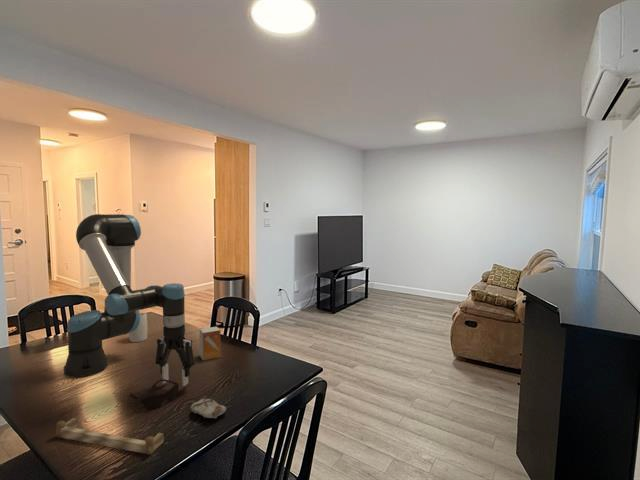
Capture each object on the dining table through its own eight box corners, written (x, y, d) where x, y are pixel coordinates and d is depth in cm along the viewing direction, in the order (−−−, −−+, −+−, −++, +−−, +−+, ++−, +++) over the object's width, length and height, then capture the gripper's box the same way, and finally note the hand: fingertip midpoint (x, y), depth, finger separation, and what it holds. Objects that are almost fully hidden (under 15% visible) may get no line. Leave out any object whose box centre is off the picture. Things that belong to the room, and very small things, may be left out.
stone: (184, 412, 113) (184, 402, 113) (207, 402, 120) (207, 392, 120) (208, 424, 106) (208, 414, 106) (230, 412, 114) (231, 402, 114)
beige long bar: (55, 437, 101) (54, 424, 100) (73, 425, 106) (72, 413, 106) (150, 455, 93) (150, 441, 93) (164, 441, 99) (164, 428, 99)
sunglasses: (147, 414, 113) (146, 400, 113) (122, 400, 122) (121, 386, 121) (183, 396, 125) (183, 383, 124) (158, 384, 133) (157, 372, 133)
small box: (203, 361, 154) (202, 332, 153) (199, 356, 159) (199, 329, 158) (220, 357, 159) (220, 329, 158) (216, 352, 164) (216, 326, 163)
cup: (142, 344, 173) (141, 317, 172) (125, 344, 173) (124, 317, 172) (150, 338, 181) (150, 312, 180) (135, 338, 181) (134, 312, 180)
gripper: (143, 325, 128) (145, 384, 129) (192, 330, 123) (193, 391, 125) (157, 319, 135) (158, 375, 137) (204, 323, 131) (205, 381, 132)
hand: (175, 383), depth 131 cm, fingers open, 8 cm apart
